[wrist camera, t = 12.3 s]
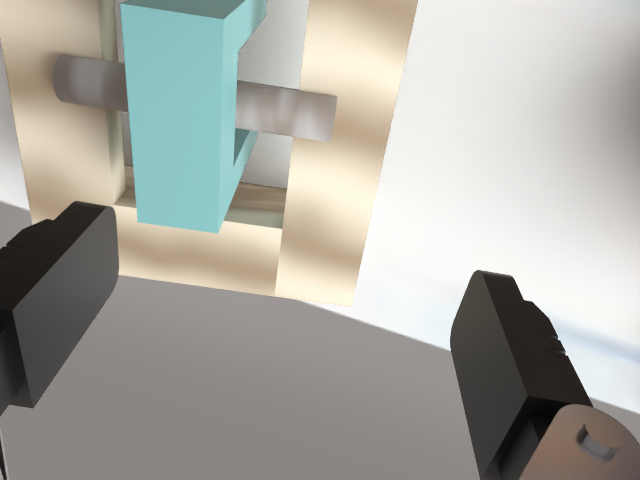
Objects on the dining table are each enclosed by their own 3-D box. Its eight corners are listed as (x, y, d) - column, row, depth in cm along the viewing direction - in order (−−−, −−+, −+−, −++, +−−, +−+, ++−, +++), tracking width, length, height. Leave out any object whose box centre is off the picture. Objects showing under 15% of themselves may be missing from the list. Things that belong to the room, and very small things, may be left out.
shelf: (87, -178, 30) (-71, -256, 19) (416, -122, 31) (458, -165, 19) (114, 185, 42) (28, 274, 31) (349, 219, 43) (351, 318, 31)
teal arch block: (200, -31, 30) (120, 3, 19) (267, -20, 30) (223, 19, 19) (200, 129, 35) (137, 222, 25) (256, 137, 35) (218, 233, 25)
